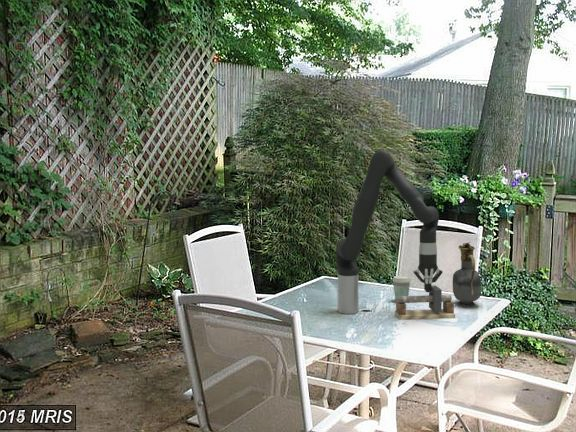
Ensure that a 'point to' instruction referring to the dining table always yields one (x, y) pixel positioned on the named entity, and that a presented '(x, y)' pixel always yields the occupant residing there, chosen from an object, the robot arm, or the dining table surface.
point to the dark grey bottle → (467, 278)
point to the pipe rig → (427, 313)
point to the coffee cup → (401, 286)
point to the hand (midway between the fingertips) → (427, 291)
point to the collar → (436, 299)
